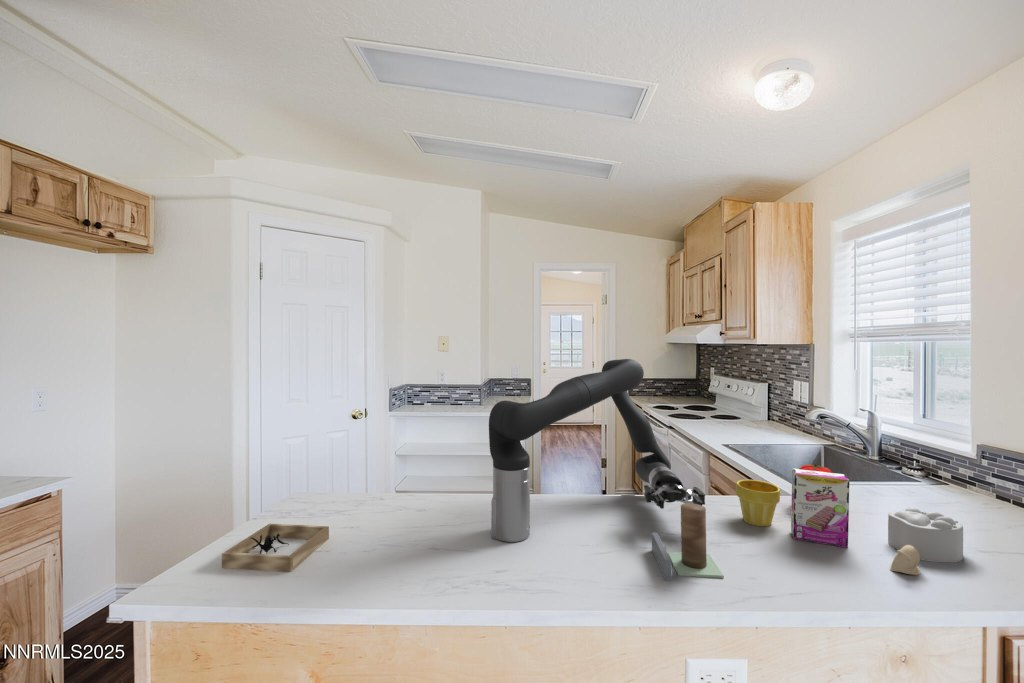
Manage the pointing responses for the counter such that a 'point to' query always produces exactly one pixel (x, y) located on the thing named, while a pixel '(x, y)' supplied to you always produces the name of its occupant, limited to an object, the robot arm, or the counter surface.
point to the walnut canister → (693, 535)
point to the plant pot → (757, 501)
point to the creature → (267, 543)
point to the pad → (683, 570)
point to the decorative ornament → (906, 561)
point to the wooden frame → (244, 560)
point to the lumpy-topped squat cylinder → (926, 534)
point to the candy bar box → (820, 507)
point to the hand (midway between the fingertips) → (680, 505)
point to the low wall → (661, 556)
